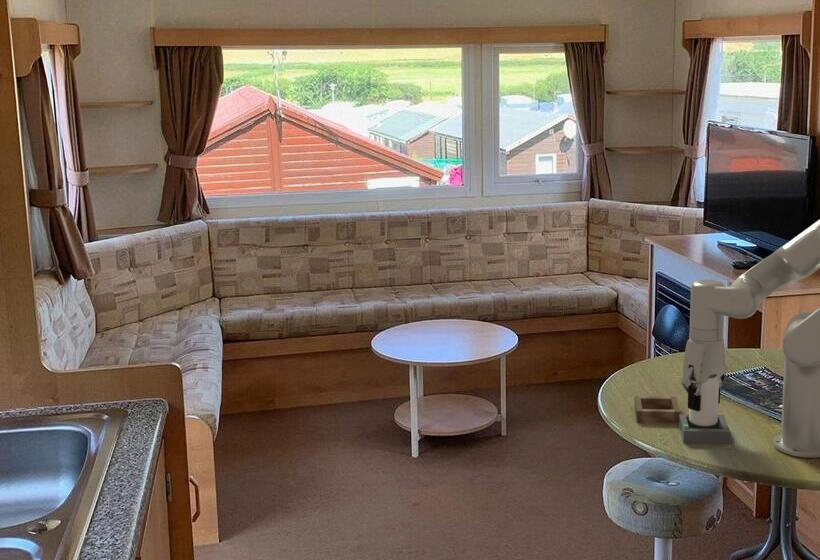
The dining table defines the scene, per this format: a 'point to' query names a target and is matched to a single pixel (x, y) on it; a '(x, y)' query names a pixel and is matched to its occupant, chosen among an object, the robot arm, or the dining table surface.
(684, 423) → the gray square frame
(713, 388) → the can
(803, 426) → the robot arm
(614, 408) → the dining table surface
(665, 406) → the brown square frame
